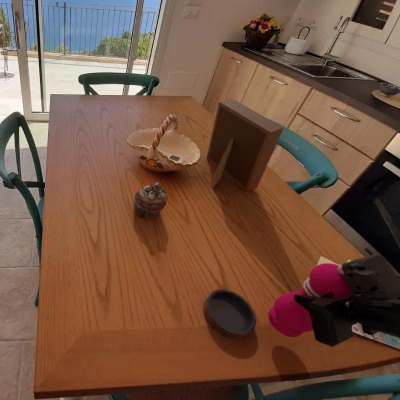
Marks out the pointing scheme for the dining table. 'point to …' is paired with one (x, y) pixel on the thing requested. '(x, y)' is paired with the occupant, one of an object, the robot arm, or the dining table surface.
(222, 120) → the photo frame
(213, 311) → the tray
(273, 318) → the pepper mill
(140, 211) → the cupcake
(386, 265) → the robot arm
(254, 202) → the dining table surface
